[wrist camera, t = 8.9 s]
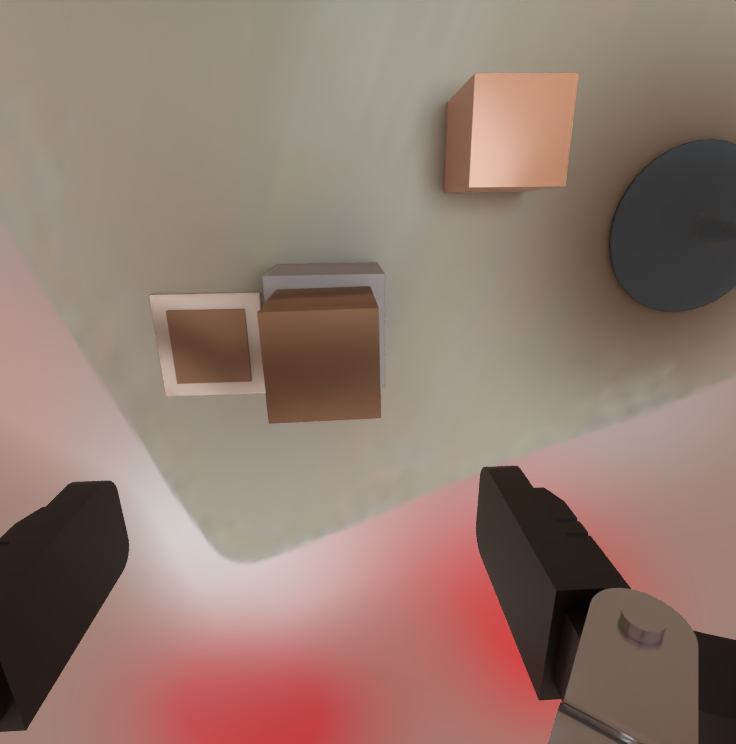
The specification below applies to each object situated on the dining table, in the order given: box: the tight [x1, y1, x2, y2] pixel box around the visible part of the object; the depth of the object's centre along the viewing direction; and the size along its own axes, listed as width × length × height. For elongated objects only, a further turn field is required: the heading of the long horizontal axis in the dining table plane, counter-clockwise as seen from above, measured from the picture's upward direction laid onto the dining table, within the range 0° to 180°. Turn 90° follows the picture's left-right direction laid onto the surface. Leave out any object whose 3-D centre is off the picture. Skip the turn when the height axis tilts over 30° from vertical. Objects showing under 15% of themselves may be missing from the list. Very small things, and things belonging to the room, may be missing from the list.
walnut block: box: [257, 286, 381, 423], centre depth 23 cm, size 5×5×6 cm
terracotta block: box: [444, 73, 579, 193], centre depth 25 cm, size 5×5×6 cm
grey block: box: [262, 263, 385, 388], centre depth 28 cm, size 6×6×6 cm
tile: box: [149, 292, 266, 396], centre depth 31 cm, size 7×7×1 cm
